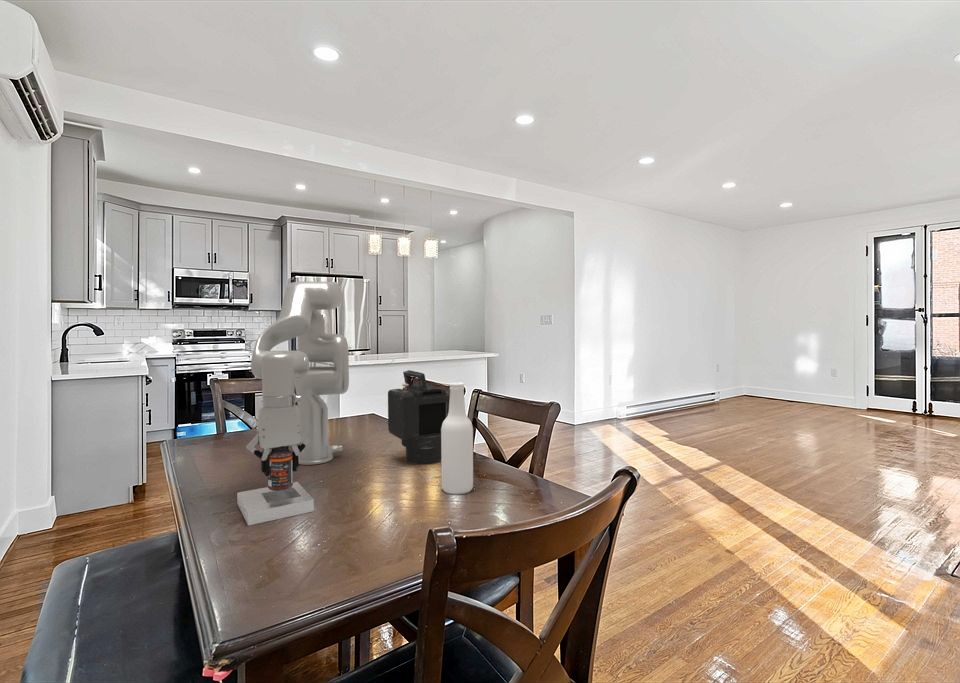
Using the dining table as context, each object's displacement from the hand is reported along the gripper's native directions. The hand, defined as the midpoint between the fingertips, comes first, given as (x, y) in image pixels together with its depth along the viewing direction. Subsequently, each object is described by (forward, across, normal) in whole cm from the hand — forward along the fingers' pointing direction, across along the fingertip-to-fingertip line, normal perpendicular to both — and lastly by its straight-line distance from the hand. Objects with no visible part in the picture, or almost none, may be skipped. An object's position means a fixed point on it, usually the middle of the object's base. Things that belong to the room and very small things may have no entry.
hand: (280, 471), depth 125 cm
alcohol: (+9, -44, +15) cm, 47 cm away
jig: (+9, +1, 0) cm, 9 cm away
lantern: (+9, -49, -17) cm, 52 cm away
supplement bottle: (+4, 0, 0) cm, 4 cm away
